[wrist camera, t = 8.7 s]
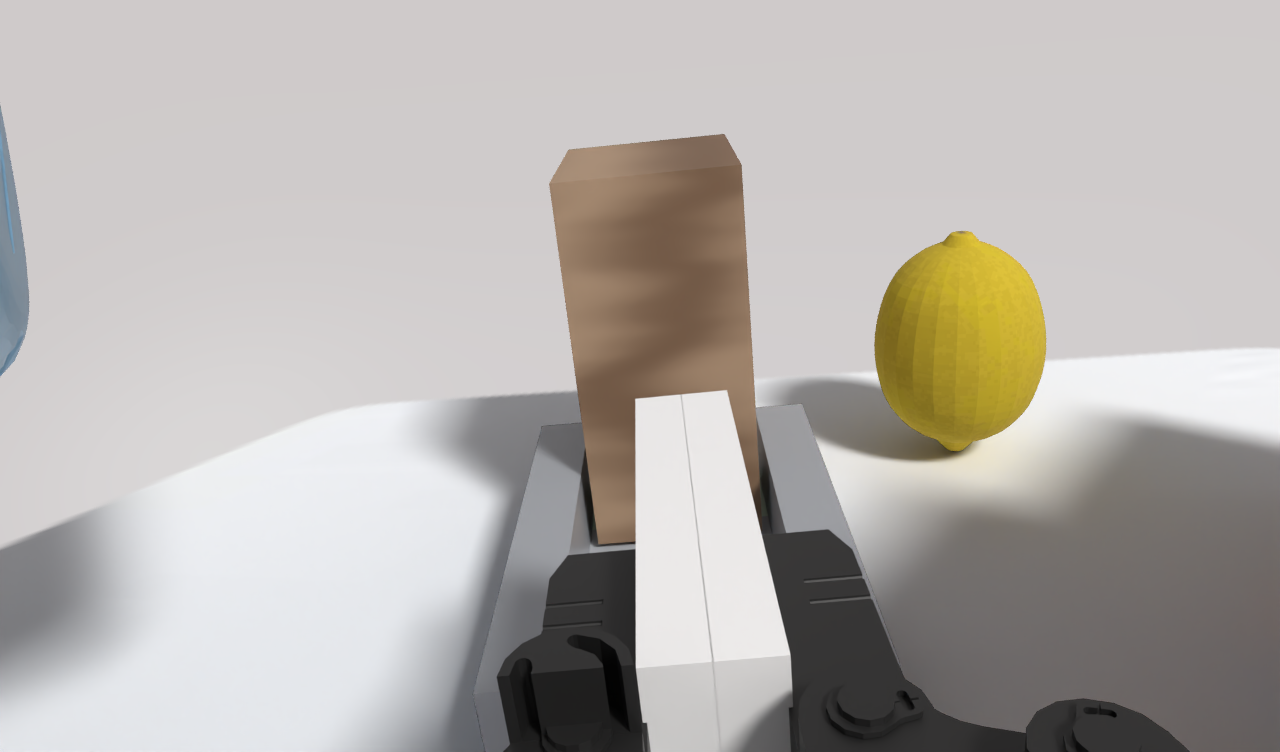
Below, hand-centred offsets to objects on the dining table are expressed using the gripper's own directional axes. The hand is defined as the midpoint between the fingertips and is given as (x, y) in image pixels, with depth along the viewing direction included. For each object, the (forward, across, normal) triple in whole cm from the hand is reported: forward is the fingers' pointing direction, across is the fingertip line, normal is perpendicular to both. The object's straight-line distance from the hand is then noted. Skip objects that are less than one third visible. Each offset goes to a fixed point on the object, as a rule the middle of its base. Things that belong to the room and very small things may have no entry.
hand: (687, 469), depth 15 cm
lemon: (+16, +10, -9) cm, 21 cm away
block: (+13, 0, -8) cm, 15 cm away
